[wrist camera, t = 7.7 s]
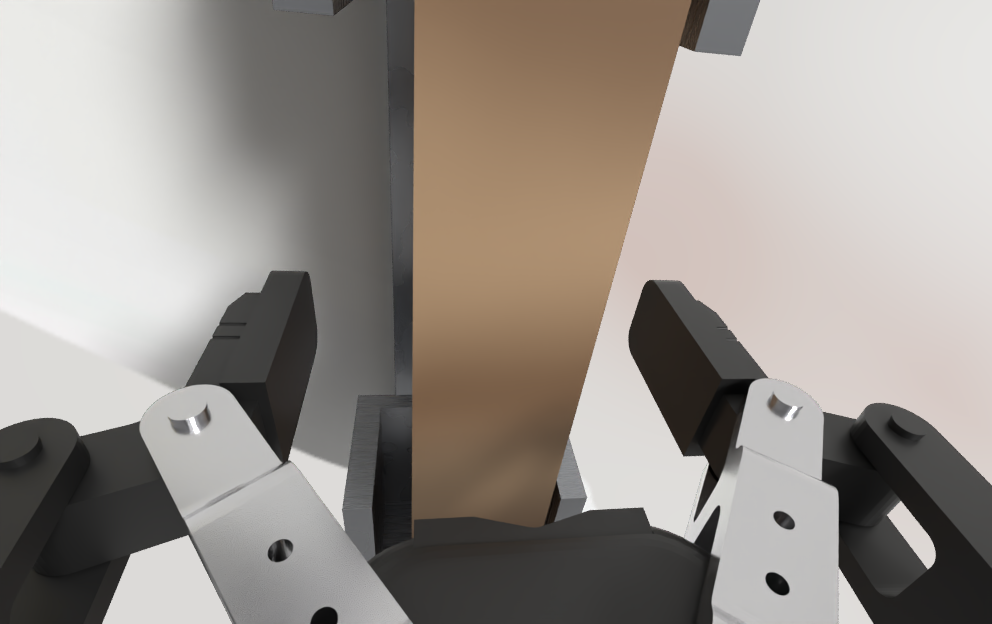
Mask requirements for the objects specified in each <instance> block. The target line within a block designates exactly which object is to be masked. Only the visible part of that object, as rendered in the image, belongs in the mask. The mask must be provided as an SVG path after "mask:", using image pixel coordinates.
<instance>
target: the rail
mask: <svg viewBox="0 0 992 624" xmlns="http://www.w3.org/2000/svg"><path fill="white" fill-rule="evenodd" d="M691 1H692V0H415V10H414V191H413V371H412V538H414V520H417V519H436V518H455V517H479V518H484V519H489V520H494V521H500V522H505V523H510V524H515V525H521V526H526V527H533V528H534V527H541V526H544V523H545V520H546V516H547V513H548V509H549V506H550V502H551V498H552V495H553V491H554V488H555V484H556V481H557V477H558V474H559V470H560V466H561V463H562V459H563V456H564V452H565V449H566V445H567V442H568V438H569V434H570V431H571V427H572V424H573V420H574V417H575V413H576V409H577V406H578V402H579V399H580V395H581V392H582V388H583V385H584V381H585V377H586V374H587V370H588V367H589V363H590V360H591V356H592V353H593V349H594V346H595V342H596V339H597V335H598V331H599V328H600V324H601V321H602V317H603V314H604V310H605V306H606V303H607V299H608V296H609V292H610V288H611V285H612V282H613V278H614V274H615V271H616V267H617V263H618V260H619V257H620V253H621V250H622V246H623V242H624V239H625V235H626V232H627V228H628V224H629V221H630V217H631V214H632V211H633V207H634V203H635V200H636V196H637V193H638V189H639V185H640V182H641V179H642V175H643V171H644V168H645V164H646V160H647V157H648V154H649V150H650V146H651V143H652V139H653V136H654V132H655V129H656V125H657V122H658V118H659V115H660V111H661V107H662V104H663V100H664V97H665V93H666V89H667V86H668V83H669V79H670V75H671V72H672V68H673V65H674V61H675V58H676V54H677V51H678V47H679V43H680V40H681V36H682V33H683V29H684V26H685V22H686V19H687V15H688V11H689V8H690V4H691Z"/></svg>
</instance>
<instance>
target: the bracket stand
mask: <svg viewBox="0 0 992 624" xmlns="http://www.w3.org/2000/svg"><path fill="white" fill-rule="evenodd" d="M272 1H273V9H274V10H281V11H291V12H301V13H311V14H321V15H331V16H334V15H335V14H336V13H338V12H339V11H340V10H341V9H343V8H344V7H345V6H346V5H348V4H349V3H350V2H351V1H353V0H272ZM759 2H760V0H692V1H691V4H690V8H689V11H688V15H687V19H686V22H685V26H684V29H683V33H682V36H681V40H680V43H679V46H682V47H684V48H687V49H689V50H692V51H695V52H705V53H715V54H726V55H735V56H741V54H742V51H743V48H744V45H745V42H746V39H747V36H748V34H749V31H750V28H751V25H752V22H753V19H754V16H755V14H756V11H757V8H758V5H759ZM386 4H387V46H388V88H389V130H390V172H391V214H392V256H393V298H394V340H395V382H396V395H358V402H357V409H356V416H355V423H354V430H353V437H352V444H351V452H350V459H349V466H348V473H347V480H346V487H345V494H344V501H343V509H342V511H343V518H344V526H345V533H346V534H347V535H348V537H349V538H350V539H351V541H352V542H353V543H354V545H355V546H356V548H357V549H358V550H359V552H360V553H361V554H362V556H363V557H364V558H365V560H366V561H369V560H370V559H371V558H372V557H374V556H376V555H377V554H379V553H381V552H382V551H384V550H386V549H387V548H390V547H392V546H394V545H396V544H398V543H401V542H403V541H406V540H409V539H412V371H413V191H414V10H415V0H386ZM586 499H587V496H586V493H585V490H584V486H583V483H582V480H581V476H580V473H579V470H578V466H577V463H576V460H575V456H574V453H573V450H572V446H571V443H570V440H569V438H568V442H567V445H566V449H565V452H564V456H563V459H562V463H561V466H560V470H559V474H558V477H557V481H556V484H555V488H554V491H553V495H552V498H551V502H550V506H549V509H548V513H547V516H546V520H545V523H544V525H547V524H550V523H553V522H556V521H559V520H562V519H565V518H568V517H571V516H574V515H577V514H580V513H582V510H583V508H584V505H585V502H586Z"/></svg>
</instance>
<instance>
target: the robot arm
mask: <svg viewBox="0 0 992 624" xmlns="http://www.w3.org/2000/svg"><path fill="white" fill-rule="evenodd" d="M316 348H317V324H316V317H315V310H314V303H313V295H312V288H311V281H310V276H309V274H308V272H304V271H271V272H270V274H269V276H268V278H267V280H266V283H265V285H264V287H263V289H262V291H261V293H245V294H244V295H242V296H241V297H240V298H238V299H237V300H236V301H235V302H233V303H232V304H231V305H229V306H228V308H227V310H226V311H225V313H224V315H223V317H222V319H221V321H220V326H217V328H216V330H215V332H214V334H213V339H210V341H209V343H208V345H207V347H206V349H205V351H204V353H203V354H202V356H201V358H200V360H199V362H198V364H197V366H196V367H195V369H194V371H193V373H192V375H191V377H190V379H189V380H188V382H187V384H186V386H185V387H184V388H181V389H178V390H175V391H173V392H171V393H169V394H167V395H165V396H163V397H162V398H160V399H159V400H157V401H156V402H154V403H153V404H152V405H151V406H150V407H149V408H148V409H147V411H146V412H145V413H144V415H143V417H142V419H141V421H139V422H137V423H133V424H130V425H126V426H122V427H118V428H114V429H109V430H106V431H102V432H97V433H93V434H89V435H85V436H79V434H78V432H77V431H76V429H75V427H74V426H73V425H72V424H70V423H69V422H67V421H64V420H61V419H56V418H40V419H33V420H28V421H23V422H20V423H17V424H14V425H11V426H8V427H6V428H3V429H1V430H0V624H102V622H103V619H104V617H105V615H106V613H107V610H108V608H109V605H110V603H111V600H112V598H113V595H114V593H115V590H116V588H117V586H118V583H119V581H120V578H121V576H122V573H123V571H124V569H125V566H126V564H127V562H128V559H129V557H130V554H132V553H135V552H138V551H141V550H144V549H147V548H150V547H153V546H156V545H159V544H162V543H165V542H168V541H171V540H174V539H177V538H180V537H183V536H187V535H189V537H190V539H191V541H192V543H193V545H194V547H195V549H196V551H197V553H198V555H199V557H200V559H201V561H202V563H203V566H204V567H205V570H206V571H207V574H208V575H209V578H210V580H211V582H212V583H213V586H214V588H215V590H216V592H217V594H218V596H219V598H220V599H221V602H222V604H223V606H224V608H225V609H226V612H227V614H228V616H229V618H230V620H231V622H232V624H838V566H839V568H840V570H841V571H842V573H843V575H844V576H845V578H846V579H847V581H848V583H849V584H850V586H851V588H852V589H853V591H854V592H855V594H856V596H857V597H858V599H859V601H860V602H861V604H862V605H863V607H864V609H865V610H866V612H867V614H868V615H869V617H870V619H871V620H872V622H873V623H874V624H992V485H991V484H990V483H989V482H988V481H987V480H986V479H985V478H984V477H983V476H982V475H981V474H980V473H979V472H978V471H977V470H976V469H975V468H974V467H973V466H972V465H971V464H970V463H969V462H968V461H967V460H966V459H965V458H964V457H963V456H962V455H961V454H960V453H959V452H958V451H957V450H956V449H955V448H954V447H953V446H952V445H951V444H950V443H949V442H948V441H947V440H946V439H945V438H944V437H943V436H942V435H941V434H940V433H939V432H938V431H937V430H936V429H935V428H934V427H933V426H932V425H930V424H929V423H928V422H927V421H925V420H924V419H922V418H921V417H919V416H917V415H915V414H914V413H912V412H910V411H907V410H906V409H903V408H900V407H898V406H894V405H890V404H885V403H874V404H870V405H868V406H867V407H866V408H865V410H864V411H863V412H862V413H861V415H860V416H859V417H858V419H852V418H848V417H843V416H839V415H835V414H830V413H826V412H822V409H821V408H820V406H819V405H818V403H817V402H816V401H815V400H814V399H813V398H812V397H811V396H810V395H808V394H807V393H806V392H804V391H803V390H801V389H800V388H798V387H796V386H794V385H792V384H790V383H787V382H784V381H781V380H777V379H770V378H768V377H767V376H766V374H765V373H764V372H763V371H762V369H761V368H760V367H759V366H758V364H757V363H756V362H755V361H754V359H753V358H752V357H751V356H750V355H749V353H748V352H747V351H746V349H745V348H744V347H743V346H742V344H741V343H740V342H739V341H737V338H736V337H735V336H734V335H733V333H732V332H731V331H730V330H728V329H727V326H726V324H725V323H724V322H723V321H722V320H721V318H720V317H719V316H718V315H717V313H716V312H714V311H713V310H711V309H710V308H709V307H707V306H706V305H704V304H703V303H701V302H700V301H696V300H695V299H694V298H693V296H692V295H691V294H690V292H689V291H688V290H687V288H686V287H685V286H684V284H682V282H680V281H672V280H671V281H669V280H649V281H647V282H646V284H645V285H644V287H643V290H642V293H641V296H640V299H639V302H638V305H637V308H636V311H635V315H634V318H633V320H632V324H631V327H630V330H629V348H630V352H631V355H632V356H633V359H634V360H635V362H636V364H637V366H638V368H639V370H640V372H641V374H642V376H643V378H644V380H645V382H646V384H647V386H648V388H649V390H650V392H651V394H652V396H653V398H654V400H655V402H656V403H657V405H658V407H659V409H660V411H661V413H662V415H663V417H664V419H665V421H666V423H667V425H668V427H669V429H670V431H671V433H672V435H673V437H674V438H675V441H676V443H677V444H678V446H679V448H680V450H681V452H682V454H683V456H705V457H706V459H707V460H708V463H707V465H706V467H705V469H704V471H703V473H702V477H701V480H700V484H699V487H698V491H697V494H696V498H695V501H694V505H693V509H692V512H691V515H690V519H689V522H688V526H687V529H686V533H685V535H684V538H683V537H680V536H678V535H676V534H673V533H671V532H669V531H666V530H663V529H659V528H656V527H652V526H650V524H649V521H648V519H647V516H646V514H645V511H644V509H643V508H626V509H625V508H624V509H607V510H589V511H586V512H583V513H580V514H577V515H574V516H571V517H568V518H565V519H562V520H559V521H556V522H553V523H550V524H547V525H544V526H541V527H534V528H533V527H526V526H521V525H515V524H510V523H505V522H500V521H494V520H489V519H484V518H479V517H455V518H436V519H417V520H414V538H412V539H409V540H406V541H403V542H401V543H398V544H396V545H394V546H392V547H390V548H387V549H386V550H384V551H382V552H381V553H379V554H377V555H376V556H374V557H372V558H371V559H370V560H369V561H366V560H365V558H364V557H363V556H362V554H361V553H360V552H359V550H358V549H357V548H356V546H355V545H354V543H353V542H352V541H351V539H350V538H349V537H348V535H347V534H346V533H345V531H344V530H343V529H342V527H341V526H340V524H339V523H338V522H337V521H336V519H335V518H334V516H333V515H332V514H331V512H330V511H329V510H328V509H327V507H326V506H325V504H324V503H323V501H322V500H321V499H320V497H319V496H318V495H317V493H316V492H315V491H314V489H313V488H312V487H311V485H310V484H309V482H308V481H307V480H306V478H305V477H304V476H303V474H302V473H301V472H300V470H299V469H298V468H297V467H296V466H295V464H293V463H292V462H291V461H288V458H289V454H290V450H291V446H292V442H293V439H294V435H295V431H296V427H297V423H298V419H299V415H300V412H301V408H302V404H303V400H304V396H305V392H306V389H307V385H308V381H309V377H310V373H311V369H312V366H313V362H314V358H315V354H316ZM900 501H902V502H903V503H904V505H905V506H906V507H907V509H908V510H909V511H910V512H911V514H912V515H913V516H914V517H915V519H916V520H917V521H918V522H919V523H920V525H921V526H922V527H923V529H924V530H925V531H926V532H927V533H928V535H929V536H930V538H931V540H932V542H933V544H934V547H935V551H936V559H935V562H934V564H933V566H932V567H931V568H929V569H927V568H926V567H925V565H924V564H923V563H922V561H921V560H920V559H919V557H918V556H917V555H916V553H915V552H914V551H913V549H912V548H911V547H910V546H909V544H908V543H907V541H906V540H905V539H904V538H903V536H902V535H901V534H900V532H899V531H898V530H897V528H896V527H895V526H894V525H893V523H892V522H891V520H890V519H889V518H888V516H887V514H888V513H889V512H890V511H891V510H892V509H893V508H894V507H895V506H896V505H897V504H898V503H899V502H900Z"/></svg>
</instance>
